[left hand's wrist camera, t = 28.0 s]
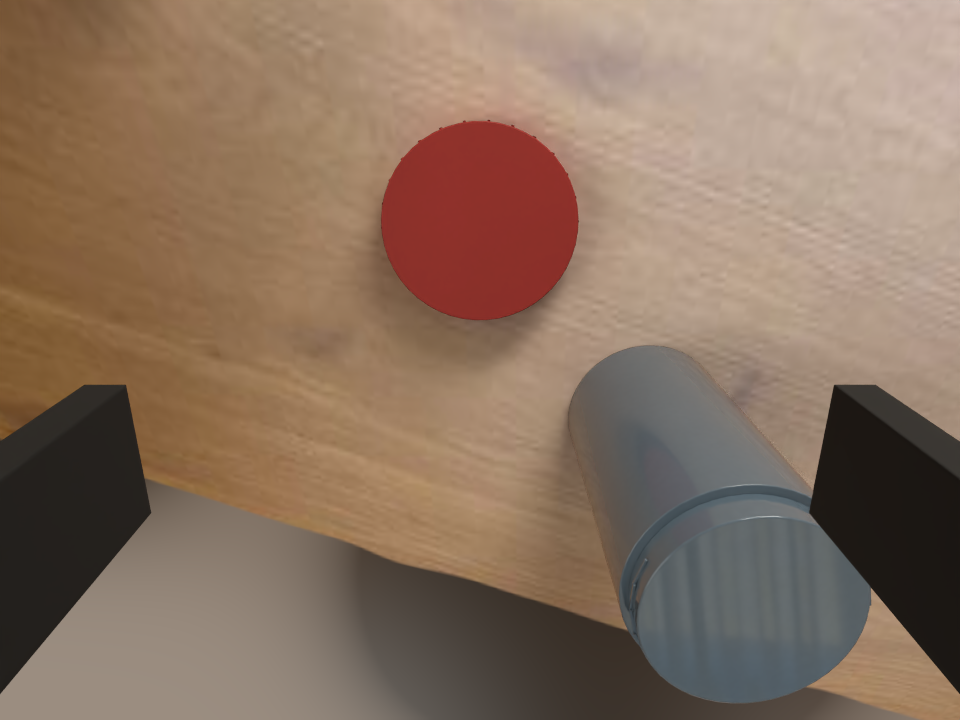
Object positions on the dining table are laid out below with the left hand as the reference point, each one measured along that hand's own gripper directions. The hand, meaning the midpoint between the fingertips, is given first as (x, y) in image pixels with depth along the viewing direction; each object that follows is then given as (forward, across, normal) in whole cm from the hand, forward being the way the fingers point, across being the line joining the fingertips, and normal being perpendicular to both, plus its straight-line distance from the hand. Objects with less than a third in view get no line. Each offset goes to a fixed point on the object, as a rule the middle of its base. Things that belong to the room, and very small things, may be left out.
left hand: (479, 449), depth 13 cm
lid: (+29, 0, 0) cm, 29 cm away
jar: (+30, +11, -13) cm, 35 cm away
